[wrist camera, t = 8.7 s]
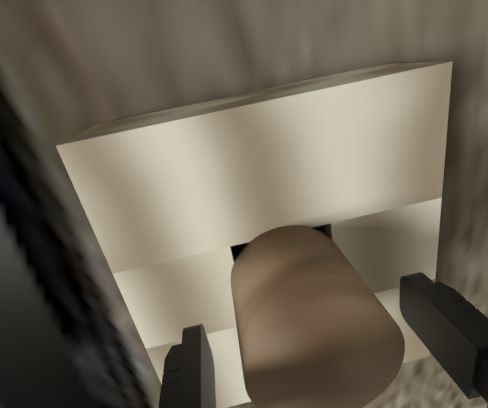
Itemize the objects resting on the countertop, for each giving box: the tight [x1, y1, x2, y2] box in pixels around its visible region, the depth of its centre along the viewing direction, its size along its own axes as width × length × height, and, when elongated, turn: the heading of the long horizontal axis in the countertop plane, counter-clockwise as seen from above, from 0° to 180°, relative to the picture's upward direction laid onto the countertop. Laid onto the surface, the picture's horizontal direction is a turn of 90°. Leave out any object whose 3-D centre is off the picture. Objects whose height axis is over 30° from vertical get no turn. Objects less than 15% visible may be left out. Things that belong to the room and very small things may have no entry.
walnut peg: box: [231, 225, 405, 408], centre depth 15 cm, size 5×5×10 cm
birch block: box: [56, 61, 453, 408], centre depth 17 cm, size 15×16×5 cm
